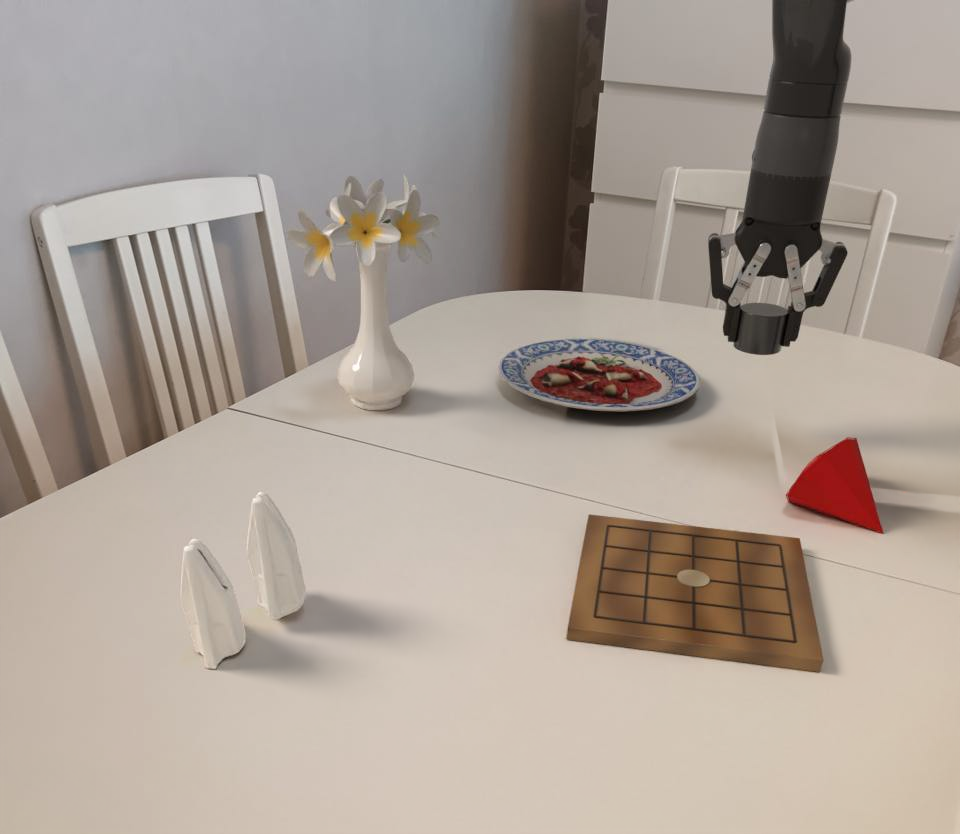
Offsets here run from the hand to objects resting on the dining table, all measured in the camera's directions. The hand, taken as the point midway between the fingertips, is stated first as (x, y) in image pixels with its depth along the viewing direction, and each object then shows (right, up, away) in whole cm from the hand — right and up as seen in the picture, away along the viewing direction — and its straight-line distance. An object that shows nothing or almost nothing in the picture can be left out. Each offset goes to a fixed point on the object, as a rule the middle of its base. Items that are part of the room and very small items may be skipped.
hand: (758, 341), depth 103 cm
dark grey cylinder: (0, -1, 0) cm, 1 cm away
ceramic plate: (-14, +1, +23) cm, 27 cm away
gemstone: (+7, -19, -4) cm, 20 cm away
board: (-11, -27, -17) cm, 34 cm away
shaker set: (-48, -31, -24) cm, 62 cm away
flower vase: (-42, -3, +16) cm, 45 cm away
